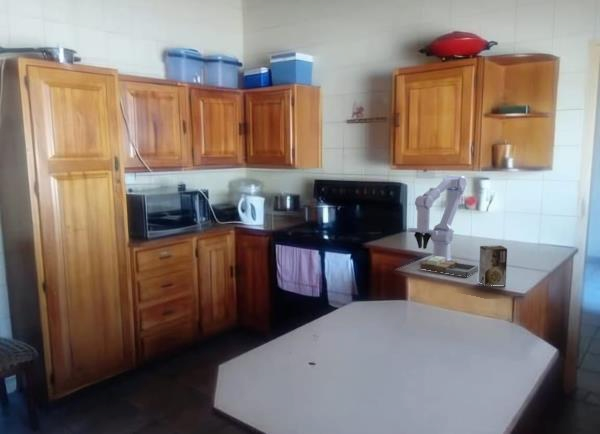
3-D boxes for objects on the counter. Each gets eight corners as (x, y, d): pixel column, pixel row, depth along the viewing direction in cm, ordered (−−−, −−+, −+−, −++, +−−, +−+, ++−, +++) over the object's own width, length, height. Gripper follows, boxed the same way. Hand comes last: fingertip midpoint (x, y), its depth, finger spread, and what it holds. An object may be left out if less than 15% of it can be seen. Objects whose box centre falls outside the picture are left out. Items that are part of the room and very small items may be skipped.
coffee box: (499, 282, 203) (501, 245, 201) (506, 286, 197) (508, 248, 194) (477, 282, 203) (479, 245, 200) (484, 287, 196) (486, 248, 194)
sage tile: (431, 262, 226) (431, 258, 226) (440, 263, 223) (440, 259, 223) (427, 264, 223) (427, 259, 223) (436, 265, 220) (436, 261, 220)
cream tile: (436, 259, 231) (436, 255, 230) (445, 261, 228) (445, 257, 227) (432, 261, 227) (432, 257, 227) (441, 263, 224) (441, 259, 224)
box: (457, 267, 227) (457, 262, 227) (477, 271, 221) (478, 265, 221) (445, 274, 216) (445, 268, 216) (466, 277, 210) (467, 272, 210)
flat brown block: (433, 264, 235) (433, 258, 234) (456, 267, 227) (457, 261, 227) (420, 269, 224) (420, 263, 224) (445, 274, 217) (445, 267, 216)
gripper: (405, 220, 231) (405, 247, 233) (434, 223, 222) (433, 251, 224) (412, 218, 237) (411, 245, 239) (440, 221, 228) (439, 249, 230)
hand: (422, 248), depth 232 cm, fingers closed
